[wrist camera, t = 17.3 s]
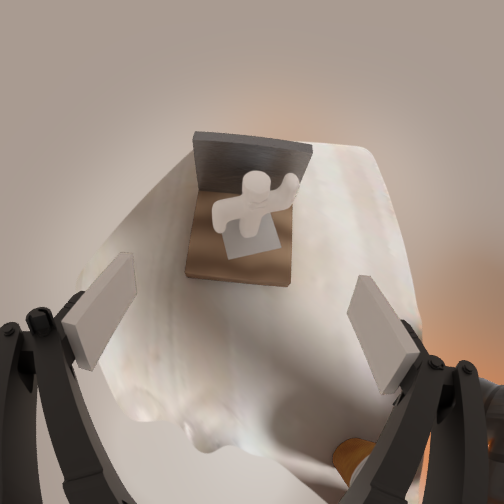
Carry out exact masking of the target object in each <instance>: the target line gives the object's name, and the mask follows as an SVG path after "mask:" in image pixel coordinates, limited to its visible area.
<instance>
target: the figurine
mask: <svg viewBox="0 0 504 504" xmlns="http://www.w3.org/2000/svg"><path fill="white" fill-rule="evenodd" d="M270 185H271V180H270V177H269V176H268V175H267V174H266V173H264V172H262V171H250V172H248V173H247V174H245V176H244V177H243V183H242V192H243V193H242V194H241V195H240V196H237V197H232V198H227V199H222V200H218V201H216V202H215V203H214V204H213V207H212V222H213V227H214V230H215V231H216V232H217V233H222V237H223V241H224V245H225V249H226V253H227V257H228V260H230V259H234V258H239V257H243V256H248V255H252V254H256V253H261V252H265V251H270V250H274V249H279V248H282V247H281V244H280V241H279V238H278V235H277V232H276V229H275V226H274V223H273V220H272V217H271V212H276V211H281V210H285V209H288V208H289V207H290V206H291V205H292V203H293V202H294V199H295V197H296V195H297V193H298V190H299V187H300V183H299V179H298V178H297V176H296V175H295V174H293V173H287V174H286V175H285V176H284V179H283V181H282V184H281V185H280V187H278V188H277V189H276V190H271V191H270Z"/></svg>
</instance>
